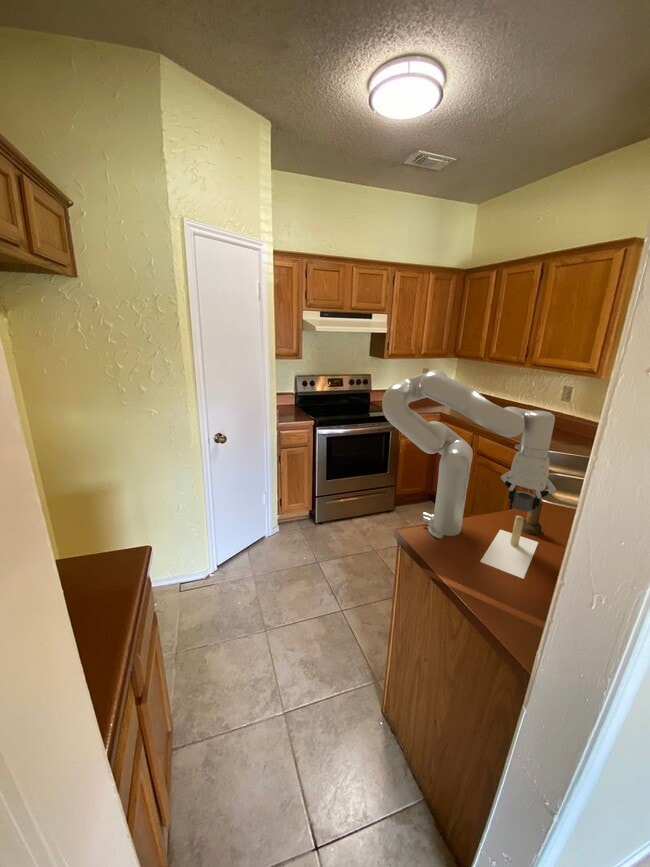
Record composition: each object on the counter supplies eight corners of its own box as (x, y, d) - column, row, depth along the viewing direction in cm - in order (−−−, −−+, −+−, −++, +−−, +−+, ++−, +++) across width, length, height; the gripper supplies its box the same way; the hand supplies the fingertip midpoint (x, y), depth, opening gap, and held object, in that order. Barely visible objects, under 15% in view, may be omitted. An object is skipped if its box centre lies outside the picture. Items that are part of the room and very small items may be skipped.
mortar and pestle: (521, 532, 129) (531, 486, 124) (518, 523, 135) (527, 479, 130) (542, 536, 128) (553, 489, 122) (538, 526, 134) (548, 482, 128)
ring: (510, 507, 115) (512, 495, 114) (514, 500, 119) (516, 489, 118) (531, 513, 111) (533, 501, 110) (534, 506, 116) (537, 495, 115)
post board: (479, 565, 111) (485, 532, 107) (499, 533, 129) (505, 504, 125) (522, 583, 104) (530, 548, 100) (537, 546, 122) (544, 515, 118)
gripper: (500, 448, 112) (491, 500, 117) (565, 461, 102) (552, 518, 107) (506, 442, 118) (497, 493, 123) (568, 454, 108) (556, 509, 113)
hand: (523, 504), depth 115 cm, fingers closed on ring, 6 cm apart
